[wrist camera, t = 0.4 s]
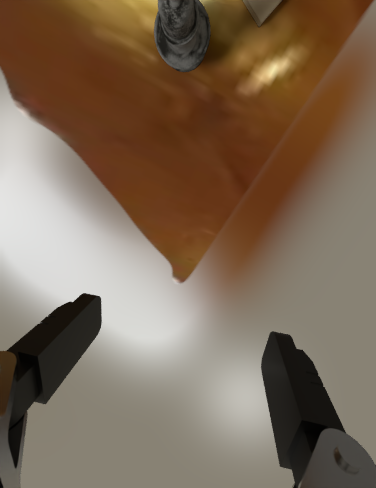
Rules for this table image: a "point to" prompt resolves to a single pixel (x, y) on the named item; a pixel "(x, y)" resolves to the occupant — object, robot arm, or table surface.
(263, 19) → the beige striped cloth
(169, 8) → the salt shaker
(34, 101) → the table surface
